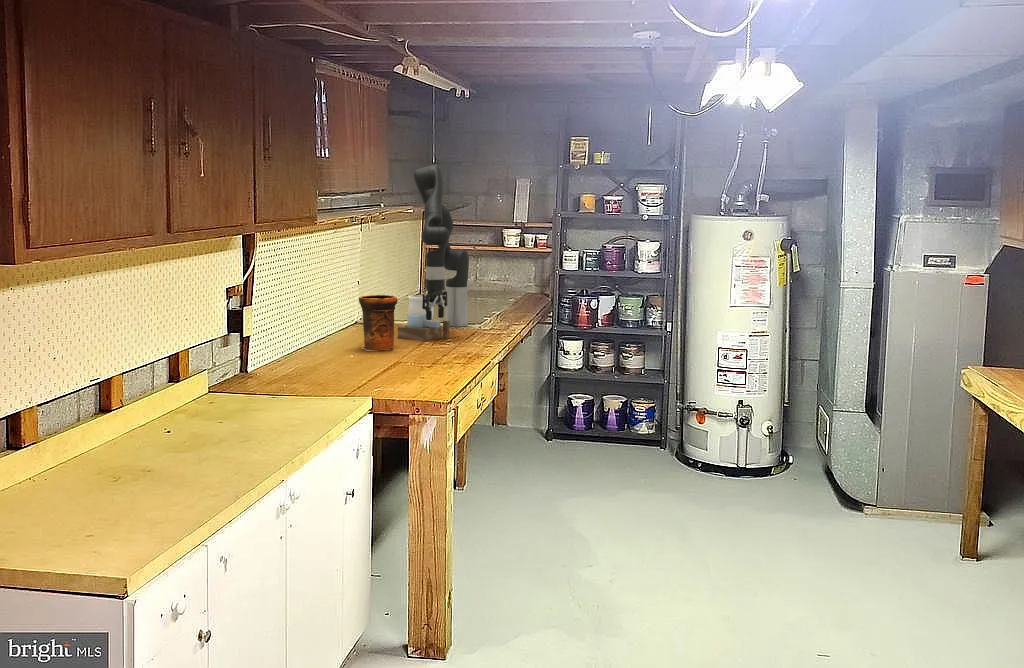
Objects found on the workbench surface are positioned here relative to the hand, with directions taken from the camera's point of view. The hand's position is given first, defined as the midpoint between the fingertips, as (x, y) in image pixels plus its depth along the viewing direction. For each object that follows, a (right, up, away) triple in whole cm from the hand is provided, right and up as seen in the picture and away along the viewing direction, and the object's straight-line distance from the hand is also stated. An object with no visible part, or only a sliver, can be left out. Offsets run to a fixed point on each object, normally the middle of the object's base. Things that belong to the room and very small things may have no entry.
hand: (434, 318), depth 391 cm
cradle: (-4, -8, +4) cm, 10 cm away
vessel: (-20, -12, -17) cm, 29 cm away
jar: (-8, -5, +25) cm, 27 cm away
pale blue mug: (-5, -8, +3) cm, 9 cm away
